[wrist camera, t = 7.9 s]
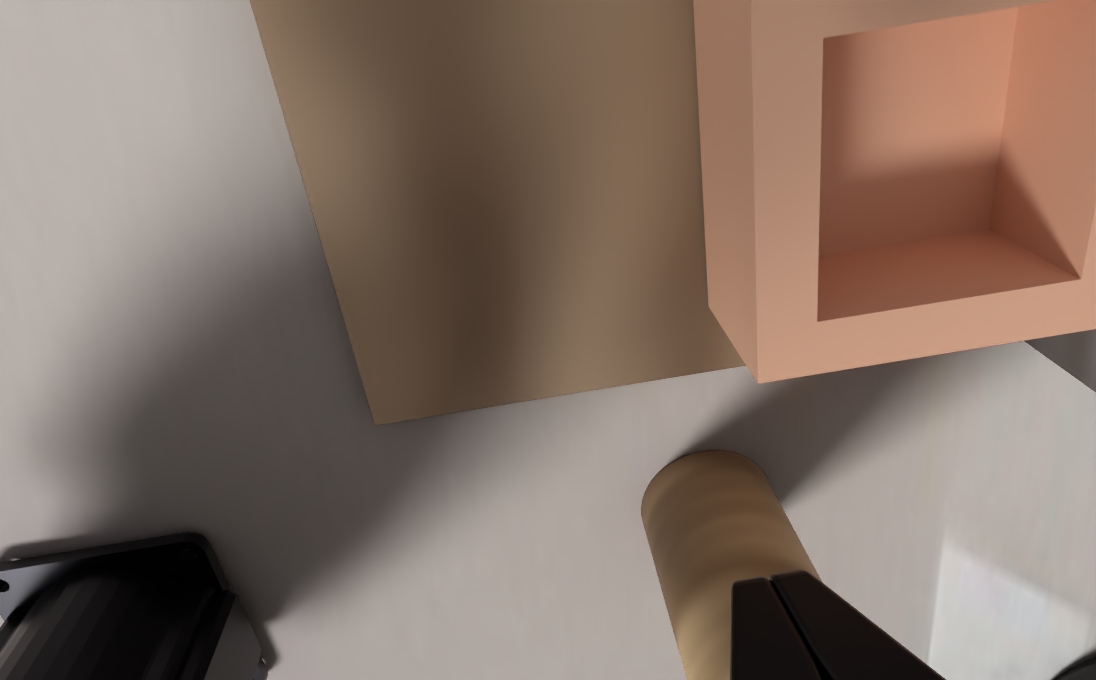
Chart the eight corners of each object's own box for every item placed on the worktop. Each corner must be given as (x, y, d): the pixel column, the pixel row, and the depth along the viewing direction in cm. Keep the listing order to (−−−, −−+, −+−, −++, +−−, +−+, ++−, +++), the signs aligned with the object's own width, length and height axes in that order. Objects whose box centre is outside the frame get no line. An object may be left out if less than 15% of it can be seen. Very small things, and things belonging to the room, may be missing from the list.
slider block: (708, 306, 20) (757, 383, 16) (691, -34, 16) (750, -31, 13) (1013, 257, 20) (1128, 324, 16) (1064, -94, 16) (1227, -107, 13)
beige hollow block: (377, 415, 21) (345, 554, 16) (235, -71, 16) (125, -81, 11) (1087, 300, 21) (1267, 404, 16) (1191, -223, 16) (1508, -302, 11)
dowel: (646, 562, 24) (739, 911, 16) (635, 462, 23) (733, 791, 14) (770, 543, 24) (933, 880, 16) (769, 440, 23) (953, 755, 14)
